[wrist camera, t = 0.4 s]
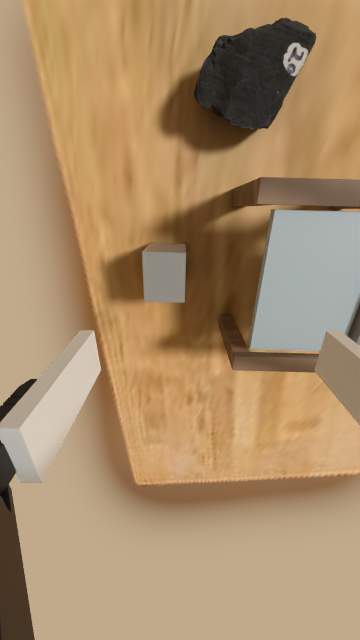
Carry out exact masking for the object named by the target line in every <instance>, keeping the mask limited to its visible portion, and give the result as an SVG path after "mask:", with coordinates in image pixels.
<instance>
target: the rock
mask: <svg viewBox="0 0 360 640" xmlns="http://www.w3.org/2000/svg"><path fill="white" fill-rule="evenodd" d="M315 40H316V34H315V33H313V32H312V31H311V30H309V28H308V26H306V25H304V24H302V23H300V22H298V21H291V20H290V19H288V18H281V19H279V20H278V21H275V23H273V24H272V25H271V24H267V25H264V26H261V27H258V28H256V29H253V28H249V29H246V30H245V31H243V32H242V33H240V34H238V35H234V36H226V35H223V36H220V37H219V38H218V39H217V41H216V42H215V44H214V47H213V49H212V52H211V53H210V55H209V56H208V57H207V58H206V60H205V61H204V63H203V66H202V69H201V72H200V76H199V79H198V81H197V84H196V88H195V91H194V97H195V99H196V101H197V102H198V103H199V104H200V105H201V106H202V107H204V108H212V109H213V112H214V113H215V114H217V115H218V116H220V117H222V118H224V119H225V120H227V121H228V122H229V123H230V124H232V125H233V126H235V127H239V128H247V129H251V130H252V129H255V128H260V129H261V128H267V129H268V127H269V126H270V125H271V123H272V122H273V120H274V119H275V117H276V115H277V113H278V112H279V110H280V108H281V107H282V103H283V100H284V98H285V96H286V95H287V93H288V91H289V89H290V87H291V86H292V84H293V82H294V80H295V78H296V76H297V75H298V73H299V71H300V70H301V68H302V66H303V64H304V62H305V60H306V58H307V56H308V55H309V53H310V51H311V49H312V47H313V45H314V43H315Z"/></svg>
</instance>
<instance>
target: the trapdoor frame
mask: <svg viewBox="0 0 360 640" xmlns="http://www.w3.org/2000/svg"><path fill="white" fill-rule="evenodd" d="M261 205H307V206H329V208H333V209H360V180H348V179H309V178H270V177H261V178H258V179H256V180H253V181H251V182H249V183H246V184H244V185H241V186H239V187H237V188H234V189H233V197H232V206H261ZM219 328H220V331H221V334H222V338H223V341H224V344H225V347H226V351H227V354H228V357H229V360H230V364H231V367H232V370H244V371H281V372H315V371H314V370H315V367H316V364H317V360H318V357H319V354H301V353H264V352H249V350H248V348H247V346H246V344H245V342H244V339H243V337H242V335H241V333H240V331H239V329H238V326H237V324H236V322H235V320H234V318H233V316H232V315H220V319H219ZM319 352H320V351H319Z"/></svg>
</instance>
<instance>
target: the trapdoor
mask: <svg viewBox="0 0 360 640" xmlns="http://www.w3.org/2000/svg"><path fill="white" fill-rule="evenodd" d="M326 331H341V332H342V333H344V334H345V335H346V336H347V337H349V338H350V339H351V340H353V341H354V342H355V343H357V344H358V345H360V212H351V211H312V210H271V214H270V220H269V226H268V232H267V237H266V243H265V249H264V255H263V261H262V266H261V272H260V278H259V284H258V289H257V295H256V301H255V307H254V312H253V318H252V324H251V330H250V335H249V341H248V346H249V348H250V349H257V350H294V351H320V350H321V347H322V343H323V340H324V336H325V333H326Z"/></svg>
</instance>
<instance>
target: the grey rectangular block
mask: <svg viewBox="0 0 360 640" xmlns="http://www.w3.org/2000/svg"><path fill="white" fill-rule="evenodd" d="M142 264H143V286H144V302H181V303H185V275H186V244H185V243H150V244H149V245H148V246H147V247H146V248H145V249H144V250H143V251H142Z"/></svg>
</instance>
